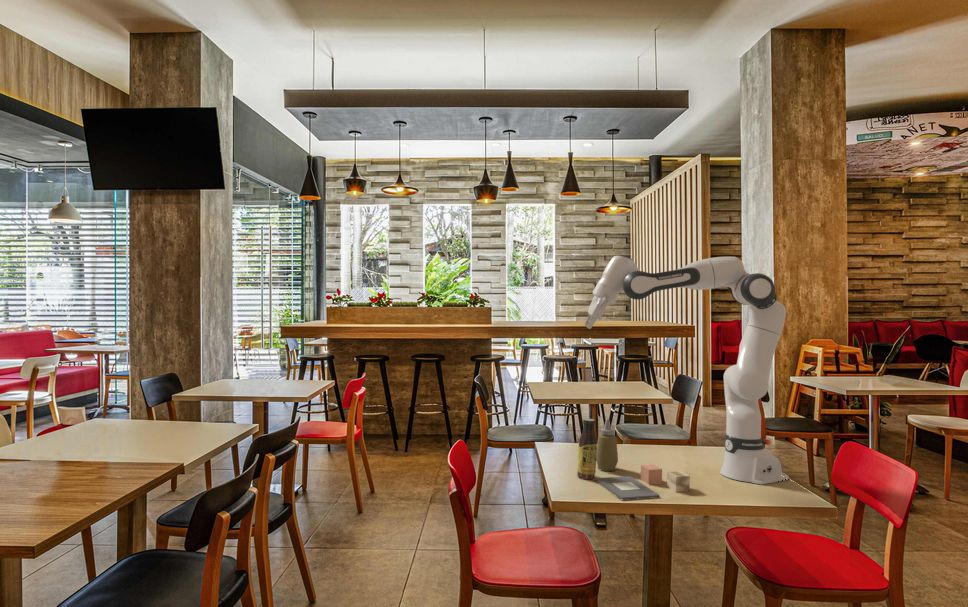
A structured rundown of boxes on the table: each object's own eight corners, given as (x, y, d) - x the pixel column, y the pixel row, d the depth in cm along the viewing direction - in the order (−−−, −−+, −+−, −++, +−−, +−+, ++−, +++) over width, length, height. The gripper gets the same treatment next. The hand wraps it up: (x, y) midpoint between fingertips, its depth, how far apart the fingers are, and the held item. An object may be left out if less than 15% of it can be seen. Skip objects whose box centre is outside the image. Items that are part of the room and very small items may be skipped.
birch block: (680, 486, 174) (680, 471, 174) (689, 491, 169) (689, 476, 169) (666, 487, 173) (667, 471, 173) (675, 492, 168) (676, 476, 168)
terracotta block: (653, 479, 181) (654, 464, 181) (661, 483, 176) (662, 469, 176) (640, 479, 179) (640, 465, 179) (648, 484, 174) (648, 469, 174)
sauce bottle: (582, 480, 177) (583, 421, 177) (573, 474, 183) (575, 417, 183) (599, 479, 179) (600, 421, 179) (590, 473, 185) (592, 417, 185)
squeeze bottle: (619, 467, 192) (621, 418, 192) (615, 474, 185) (616, 423, 185) (597, 464, 195) (599, 416, 195) (592, 470, 188) (594, 420, 188)
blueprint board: (630, 478, 180) (630, 475, 180) (659, 497, 163) (659, 494, 163) (595, 480, 177) (595, 477, 177) (621, 500, 160) (621, 497, 160)
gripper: (615, 299, 186) (597, 333, 187) (609, 297, 206) (592, 328, 208) (599, 291, 187) (581, 325, 188) (595, 290, 207) (578, 321, 208)
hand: (587, 327), depth 198 cm, fingers open, 8 cm apart
